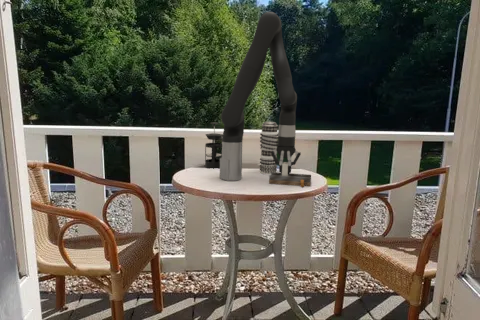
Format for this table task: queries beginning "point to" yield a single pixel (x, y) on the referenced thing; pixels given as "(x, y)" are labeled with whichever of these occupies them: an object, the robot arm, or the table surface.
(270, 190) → the table surface
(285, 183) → the slider track
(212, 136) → the french press
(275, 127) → the decorative candle
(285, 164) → the slider tab
